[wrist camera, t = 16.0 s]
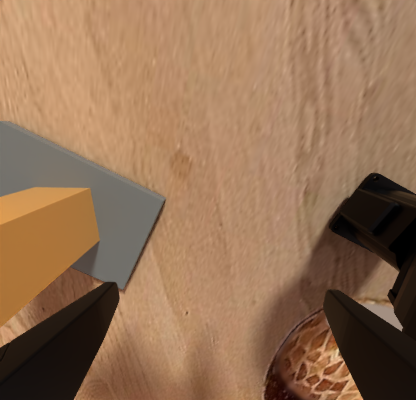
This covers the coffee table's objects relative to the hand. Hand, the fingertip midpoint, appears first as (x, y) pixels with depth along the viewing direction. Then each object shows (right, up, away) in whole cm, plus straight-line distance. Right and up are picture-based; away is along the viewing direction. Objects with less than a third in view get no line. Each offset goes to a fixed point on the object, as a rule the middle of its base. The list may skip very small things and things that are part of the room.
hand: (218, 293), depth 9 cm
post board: (-15, +3, +13) cm, 19 cm away
